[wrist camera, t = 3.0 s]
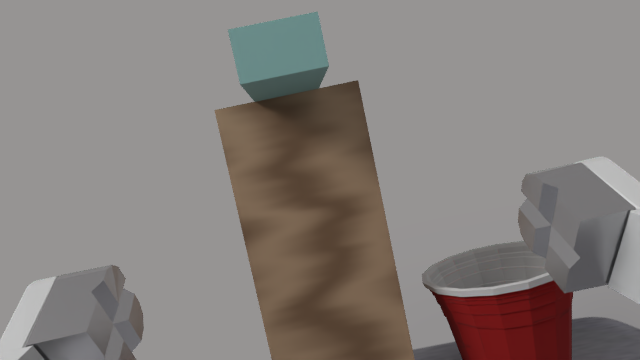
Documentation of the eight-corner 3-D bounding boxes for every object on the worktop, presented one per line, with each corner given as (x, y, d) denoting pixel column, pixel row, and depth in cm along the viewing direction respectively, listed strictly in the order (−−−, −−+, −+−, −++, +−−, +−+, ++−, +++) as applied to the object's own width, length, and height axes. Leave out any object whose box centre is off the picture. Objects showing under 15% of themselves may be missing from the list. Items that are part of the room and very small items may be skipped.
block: (240, 84, 20) (227, 29, 20) (265, 114, 40) (259, 87, 40) (328, 65, 20) (317, 11, 20) (310, 105, 40) (304, 78, 40)
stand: (289, 516, 29) (194, 112, 27) (289, 422, 39) (220, 121, 37) (456, 474, 30) (376, 74, 28) (414, 392, 40) (354, 93, 38)
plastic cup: (485, 362, 42) (461, 235, 41) (623, 391, 34) (598, 235, 33) (421, 432, 34) (390, 279, 33) (580, 489, 27) (545, 292, 26)
